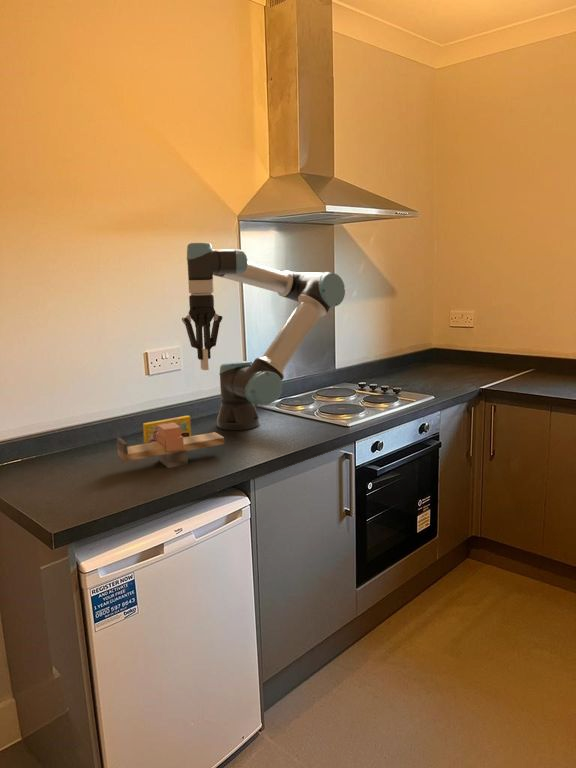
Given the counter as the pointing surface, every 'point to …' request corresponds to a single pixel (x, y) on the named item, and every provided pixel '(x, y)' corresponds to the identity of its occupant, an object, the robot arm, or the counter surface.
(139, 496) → the counter surface
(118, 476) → the counter surface
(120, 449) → the beam
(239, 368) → the robot arm
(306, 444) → the counter surface
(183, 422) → the candy box
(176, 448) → the block
